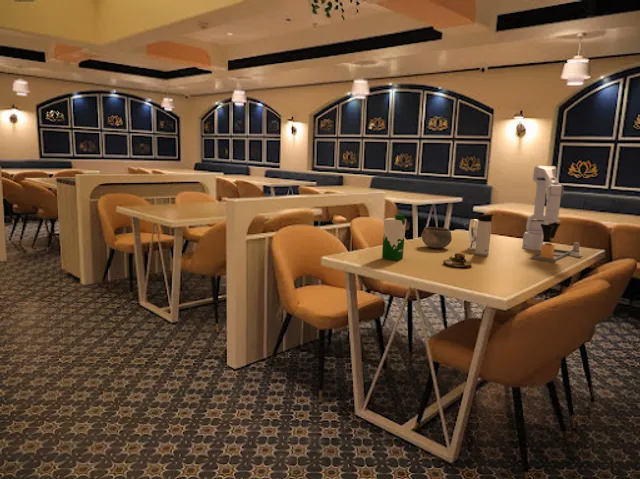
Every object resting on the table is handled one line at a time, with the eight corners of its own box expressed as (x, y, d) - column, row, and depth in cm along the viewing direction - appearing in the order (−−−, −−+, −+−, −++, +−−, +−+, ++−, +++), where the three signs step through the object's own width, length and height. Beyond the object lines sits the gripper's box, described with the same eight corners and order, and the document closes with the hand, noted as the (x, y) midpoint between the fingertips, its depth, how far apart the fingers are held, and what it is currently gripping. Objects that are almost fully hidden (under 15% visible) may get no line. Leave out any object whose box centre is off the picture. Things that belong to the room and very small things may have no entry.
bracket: (568, 256, 247) (568, 250, 246) (570, 255, 250) (571, 249, 250) (578, 258, 244) (579, 252, 243) (581, 256, 247) (581, 250, 247)
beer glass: (464, 247, 259) (467, 219, 257) (474, 247, 262) (477, 218, 260) (473, 250, 253) (476, 221, 251) (484, 249, 256) (487, 220, 254)
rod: (571, 256, 247) (573, 242, 246) (573, 255, 249) (575, 242, 247) (576, 257, 245) (578, 243, 244) (578, 256, 247) (580, 243, 246)
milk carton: (398, 261, 217) (401, 216, 213) (379, 258, 221) (381, 214, 218) (405, 258, 224) (408, 214, 221) (386, 255, 228) (389, 212, 225)
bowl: (416, 245, 260) (417, 226, 258) (442, 245, 264) (443, 226, 263) (429, 250, 247) (431, 230, 245) (456, 250, 251) (458, 230, 250)
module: (540, 256, 237) (542, 243, 236) (543, 255, 240) (545, 242, 239) (550, 258, 234) (552, 244, 233) (553, 257, 237) (554, 243, 236)
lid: (531, 259, 236) (531, 255, 236) (540, 255, 246) (540, 252, 245) (553, 262, 230) (554, 259, 229) (561, 259, 239) (562, 255, 239)
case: (539, 255, 245) (540, 252, 245) (550, 251, 258) (550, 248, 257) (561, 259, 239) (561, 255, 238) (570, 255, 251) (571, 251, 251)
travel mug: (489, 256, 237) (494, 215, 234) (475, 255, 238) (479, 214, 235) (488, 254, 243) (492, 213, 240) (474, 253, 245) (478, 212, 241)
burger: (437, 263, 218) (439, 246, 216) (460, 262, 222) (461, 246, 221) (454, 269, 207) (455, 252, 205) (477, 268, 211) (479, 251, 210)
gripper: (556, 212, 225) (553, 241, 228) (565, 210, 236) (562, 238, 239) (540, 210, 230) (537, 239, 232) (550, 208, 241) (546, 236, 243)
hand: (548, 238), depth 236 cm, fingers open, 7 cm apart
